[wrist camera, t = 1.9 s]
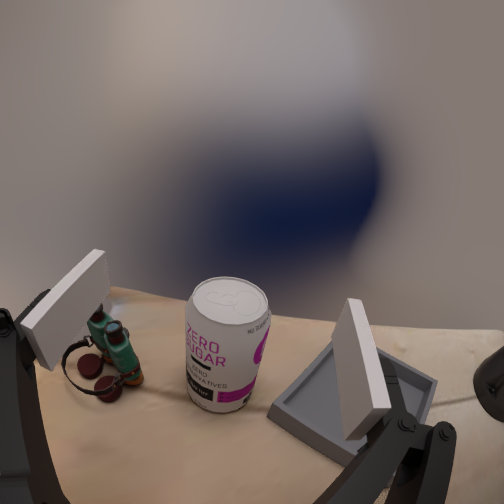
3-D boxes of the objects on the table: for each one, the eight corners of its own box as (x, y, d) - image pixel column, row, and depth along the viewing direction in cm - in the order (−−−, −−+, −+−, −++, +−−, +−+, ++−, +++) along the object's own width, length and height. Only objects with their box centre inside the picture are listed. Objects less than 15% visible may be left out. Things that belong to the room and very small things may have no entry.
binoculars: (34, 322, 24) (100, 284, 31) (66, 375, 30) (119, 340, 37) (63, 376, 20) (142, 324, 27) (100, 422, 26) (158, 379, 33)
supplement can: (253, 369, 37) (275, 281, 30) (247, 420, 30) (271, 337, 23) (195, 358, 37) (198, 267, 30) (180, 407, 30) (174, 318, 23)
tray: (426, 394, 34) (437, 380, 32) (385, 488, 21) (401, 479, 20) (335, 343, 43) (342, 328, 42) (266, 416, 31) (272, 402, 29)
